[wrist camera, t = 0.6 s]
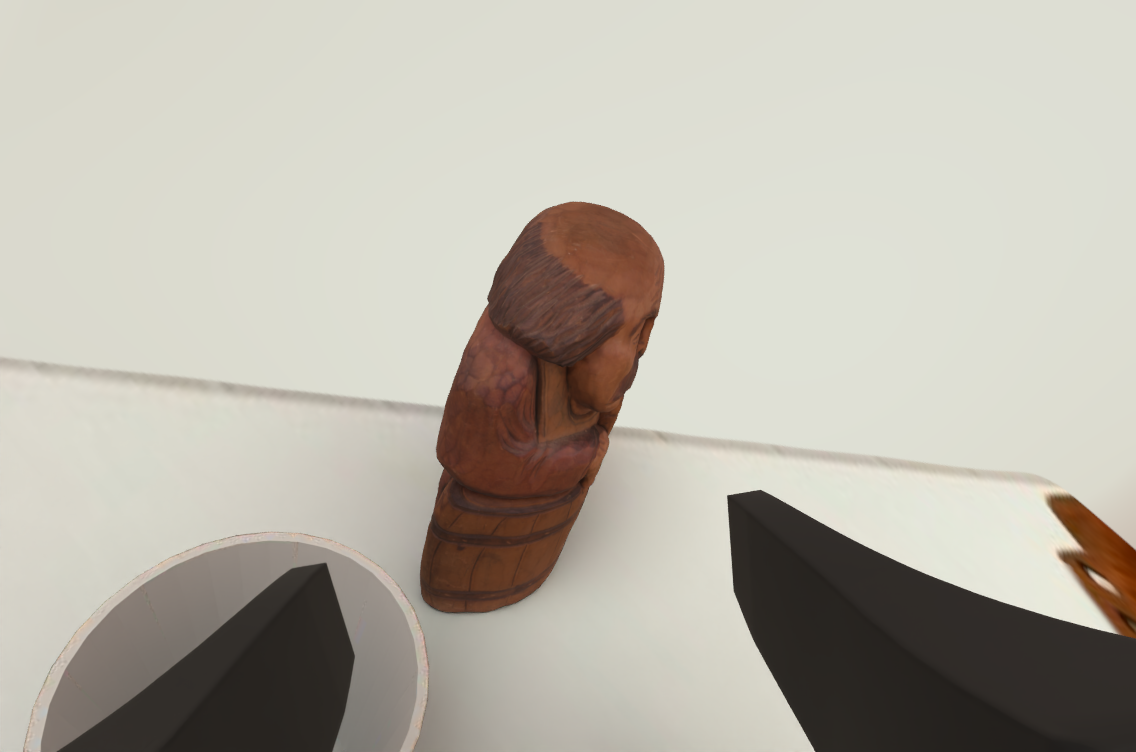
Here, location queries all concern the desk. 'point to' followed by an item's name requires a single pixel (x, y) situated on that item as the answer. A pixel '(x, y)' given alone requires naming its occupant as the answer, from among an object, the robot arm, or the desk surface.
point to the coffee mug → (207, 601)
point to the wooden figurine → (537, 402)
